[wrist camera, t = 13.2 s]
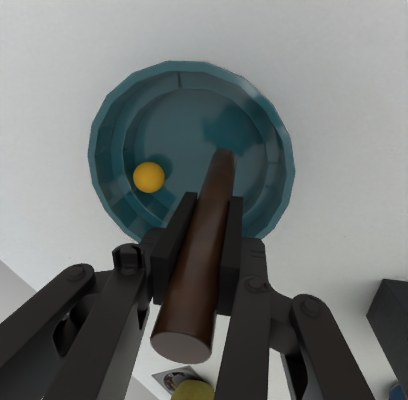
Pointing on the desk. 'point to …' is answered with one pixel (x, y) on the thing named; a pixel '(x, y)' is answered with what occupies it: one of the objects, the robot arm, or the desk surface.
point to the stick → (197, 271)
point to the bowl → (188, 145)
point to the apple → (193, 391)
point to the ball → (149, 177)
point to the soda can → (397, 393)
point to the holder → (392, 326)
